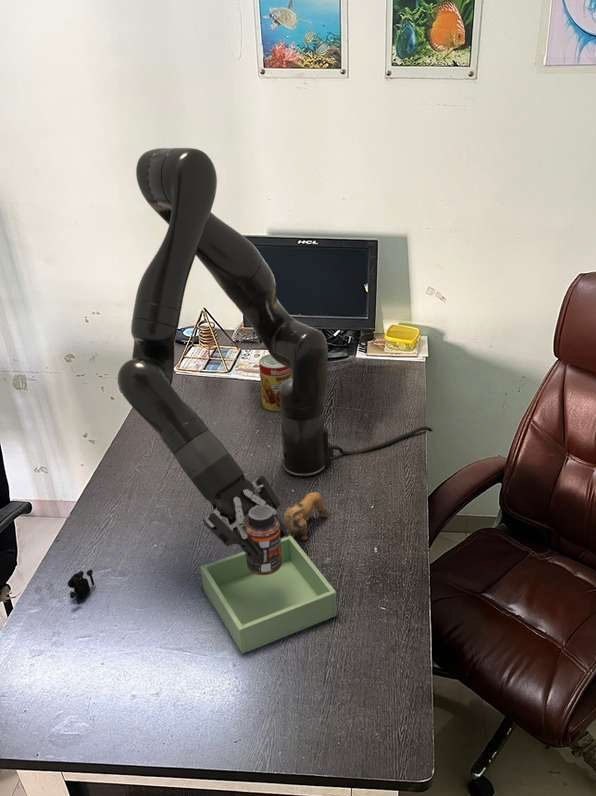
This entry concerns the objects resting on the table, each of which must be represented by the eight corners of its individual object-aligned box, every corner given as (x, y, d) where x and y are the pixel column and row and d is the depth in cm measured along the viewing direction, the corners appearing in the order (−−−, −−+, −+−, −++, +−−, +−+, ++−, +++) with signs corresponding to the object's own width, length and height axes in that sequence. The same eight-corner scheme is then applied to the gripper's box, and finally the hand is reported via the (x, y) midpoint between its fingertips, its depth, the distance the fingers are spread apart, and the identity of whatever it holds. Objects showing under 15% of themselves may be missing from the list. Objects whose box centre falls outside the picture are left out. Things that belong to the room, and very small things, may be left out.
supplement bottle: (276, 579, 123) (272, 526, 117) (241, 574, 124) (236, 520, 117) (286, 556, 128) (283, 504, 121) (253, 551, 129) (249, 499, 122)
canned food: (281, 414, 185) (278, 370, 178) (256, 405, 188) (252, 362, 181) (299, 401, 191) (297, 358, 183) (274, 393, 194) (272, 350, 187)
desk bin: (292, 558, 141) (290, 535, 138) (336, 615, 129) (336, 592, 126) (203, 589, 133) (200, 566, 130) (242, 654, 121) (239, 630, 118)
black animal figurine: (77, 610, 129) (71, 589, 126) (64, 608, 129) (57, 586, 126) (98, 583, 134) (92, 562, 131) (85, 581, 135) (79, 560, 132)
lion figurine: (305, 554, 142) (303, 516, 137) (279, 548, 143) (276, 511, 138) (331, 510, 153) (330, 474, 148) (307, 505, 155) (306, 469, 149)
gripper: (188, 477, 113) (256, 564, 115) (248, 436, 123) (309, 517, 125) (167, 494, 118) (232, 577, 120) (226, 453, 128) (285, 531, 130)
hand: (271, 546), depth 122 cm, fingers closed on supplement bottle, 6 cm apart
